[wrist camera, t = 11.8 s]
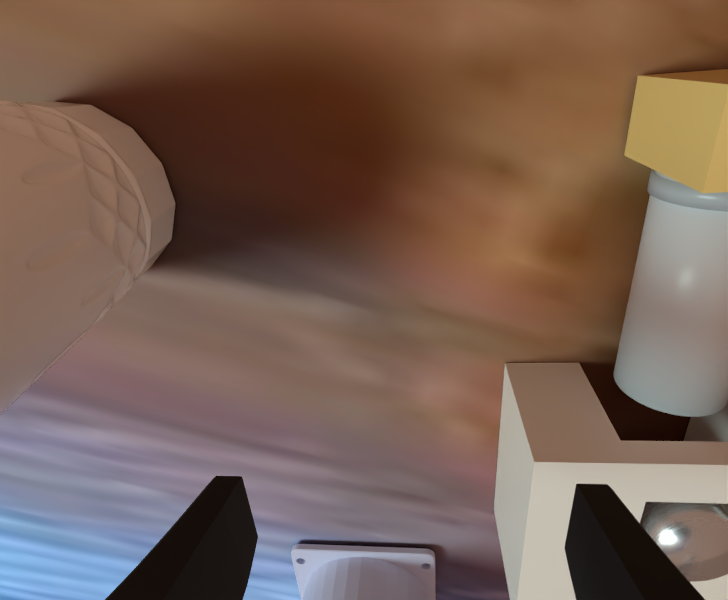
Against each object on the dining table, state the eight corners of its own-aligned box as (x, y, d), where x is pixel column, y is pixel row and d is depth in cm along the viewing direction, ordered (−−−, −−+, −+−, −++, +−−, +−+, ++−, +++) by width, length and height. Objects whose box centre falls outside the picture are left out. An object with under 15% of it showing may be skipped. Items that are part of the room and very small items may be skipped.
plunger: (702, 530, 18) (734, 583, 16) (624, 528, 18) (646, 579, 16) (722, 478, 17) (759, 528, 15) (638, 476, 17) (664, 525, 15)
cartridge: (704, 354, 19) (790, 443, 15) (588, 355, 19) (638, 441, 15) (792, 63, 14) (959, 68, 10) (636, 75, 15) (730, 84, 10)
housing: (726, 515, 23) (811, 639, 18) (494, 508, 24) (514, 623, 19) (789, 361, 19) (920, 468, 14) (505, 362, 20) (534, 461, 15)
